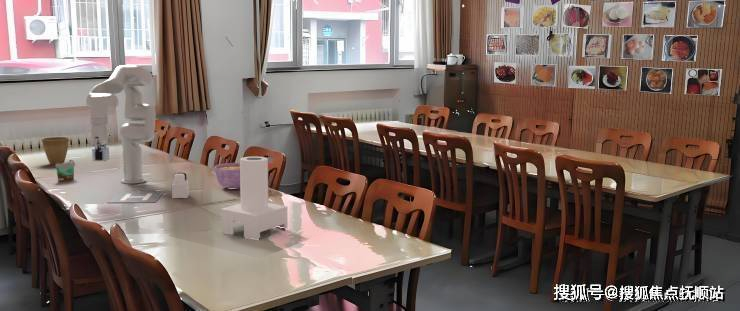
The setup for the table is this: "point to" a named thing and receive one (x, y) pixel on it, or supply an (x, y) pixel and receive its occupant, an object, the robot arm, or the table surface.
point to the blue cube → (104, 154)
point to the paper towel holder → (253, 201)
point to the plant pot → (55, 149)
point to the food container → (65, 171)
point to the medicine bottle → (180, 186)
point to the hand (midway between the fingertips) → (101, 158)
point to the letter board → (136, 197)
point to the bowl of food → (228, 175)
